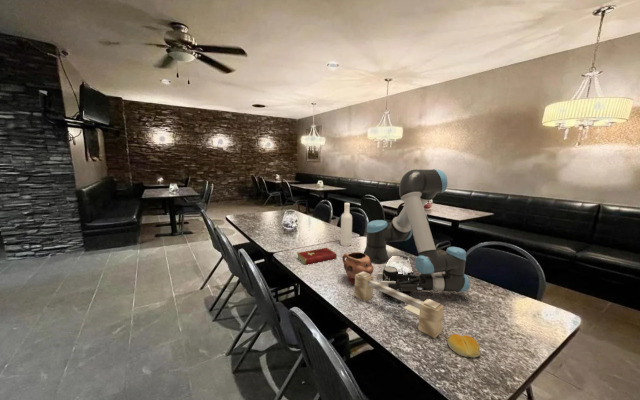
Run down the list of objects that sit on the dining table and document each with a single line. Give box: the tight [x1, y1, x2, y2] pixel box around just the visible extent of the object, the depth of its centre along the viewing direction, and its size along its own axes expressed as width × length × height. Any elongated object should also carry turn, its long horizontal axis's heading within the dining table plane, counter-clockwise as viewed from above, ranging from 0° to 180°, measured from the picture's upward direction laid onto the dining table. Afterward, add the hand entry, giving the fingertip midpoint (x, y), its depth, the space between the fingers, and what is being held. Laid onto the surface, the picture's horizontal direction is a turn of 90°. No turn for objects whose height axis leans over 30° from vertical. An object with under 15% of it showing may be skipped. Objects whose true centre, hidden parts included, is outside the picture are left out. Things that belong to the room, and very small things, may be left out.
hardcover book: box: [296, 247, 338, 266], centre depth 156 cm, size 12×21×4 cm, turn 118°
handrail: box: [353, 271, 445, 339], centre depth 101 cm, size 36×5×11 cm, turn 41°
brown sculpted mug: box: [342, 251, 375, 286], centre depth 127 cm, size 20×12×14 cm, turn 43°
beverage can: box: [381, 265, 399, 298], centre depth 115 cm, size 7×7×12 cm
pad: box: [403, 298, 425, 317], centre depth 104 cm, size 11×11×1 cm
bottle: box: [340, 202, 353, 247], centre depth 180 cm, size 8×8×30 cm
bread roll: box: [447, 333, 481, 359], centre depth 83 cm, size 8×9×4 cm
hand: (378, 279), depth 115 cm, fingers open, 7 cm apart
